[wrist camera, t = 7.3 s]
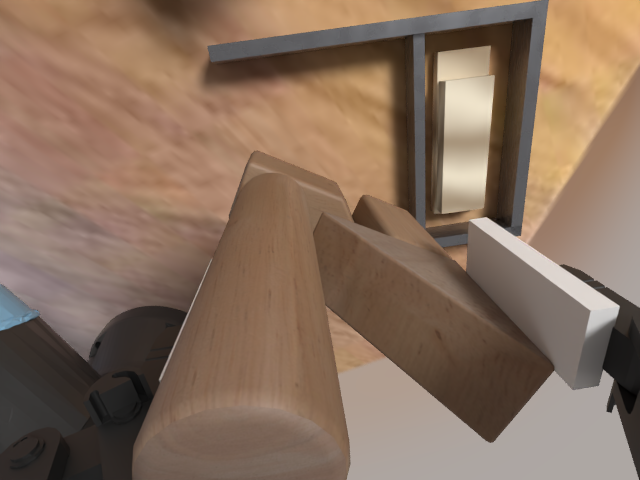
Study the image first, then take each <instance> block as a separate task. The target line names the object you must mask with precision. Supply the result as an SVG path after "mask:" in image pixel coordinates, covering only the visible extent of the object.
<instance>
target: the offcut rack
mask: <svg viewBox="0 0 640 480" xmlns="http://www.w3.org/2000/svg"><path fill="white" fill-rule="evenodd" d="M548 1H549V0H541V1H533V2H526V3H519V4H511V5H504V6H497V7H489V8H482V9H475V10H467V11H460V12H453V13H445V14H438V15H431V16H423V17H416V18H409V19H401V20H394V21H387V22H380V23H372V24H365V25H358V26H350V27H343V28H336V29H328V30H321V31H314V32H306V33H299V34H292V35H284V36H277V37H270V38H262V39H255V40H248V41H240V42H233V43H226V44H218V45H211V46H208V51H209V55H210V59H211V62H213V63H216V64H220V63H227V62H234V61H242V60H249V59H256V58H264V57H271V56H278V55H285V54H293V53H300V52H307V51H314V50H322V49H329V48H336V47H343V46H351V45H358V44H365V43H372V42H380V41H387V40H394V39H401V38H405V69H406V111H407V152H408V193H409V213H410V214H411V215H412V216H413V217H414V219H415V220H416V221H417V222H418V223H419V224H420V225H421V226H422V227H423V228H424V229H425V230H426V231H427V232H428V233H429V234H430V235H431V237H432V238H433V239H434V240H435V241H436V242H437V243H438V244H439V245H440V246H441V247H448V246H454V245H461V244H468V226H469V222H463V223H457V224H450V225H443V226H437V227H430V228H425V35H431V34H438V33H445V32H452V31H460V30H467V29H474V28H481V27H489V26H496V25H503V24H510V23H513V29H512V41H511V52H510V64H509V76H508V88H507V99H506V111H505V123H504V135H503V146H502V158H501V170H500V182H499V194H498V205H497V217H496V218H490V220H491V221H493V222H494V223H496V224H497V225H499V226H500V227H502V228H503V229H505V230H506V231H508V232H509V233H511V234H512V235H514V236H521V229H522V221H523V212H524V204H525V196H526V187H527V179H528V170H529V162H530V153H531V145H532V136H533V128H534V119H535V111H536V102H537V94H538V85H539V77H540V68H541V60H542V52H543V43H544V35H545V26H546V18H547V9H548Z"/></svg>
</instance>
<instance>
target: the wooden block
mask: <svg viewBox="0 0 640 480" xmlns="http://www.w3.org/2000/svg"><path fill="white" fill-rule="evenodd" d="M325 305H326V306H327V307H328V308H329V309H331V310H332V311H333V312H334V313H335V314H337V315H338V316H339V317H340V318H341V319H342V320H344V321H345V322H346V323H347V324H348V325H350V326H351V327H352V328H353V329H354V330H356V331H357V332H358V333H359V334H360V335H361V336H363V337H364V338H365V339H366V340H367V341H369V342H370V343H371V344H372V345H373V346H374V347H376V348H377V349H378V350H379V351H380V352H382V353H383V354H384V355H385V356H386V357H387V358H389V359H390V360H391V361H392V362H393V363H395V364H396V365H397V366H398V367H399V368H401V369H402V370H403V371H404V372H405V373H406V374H408V375H409V376H410V377H411V378H412V379H414V380H415V381H416V382H417V383H418V384H419V385H421V386H422V387H423V388H424V389H426V390H427V391H428V392H429V393H430V394H431V395H433V396H434V397H435V398H436V399H437V400H438V401H440V402H441V403H442V404H443V405H444V406H446V407H447V408H448V409H449V410H450V411H452V412H453V413H454V414H455V415H456V416H457V417H459V418H460V419H461V420H462V421H463V422H464V423H466V424H467V425H468V426H469V427H470V428H472V429H473V430H474V431H475V432H477V433H478V434H479V435H480V436H481V437H482V438H483V439H485V440H486V441H488V442H490V443H491V442H494V441H495V440H496V438H497V437H498V436H499V435H500V433H501V432H502V431H503V430H504V429H505V428H506V427H507V425H508V424H509V423H510V422H511V421H512V420H513V418H514V417H515V416H516V415H517V414H518V412H519V411H520V410H521V409H522V408H523V407H524V405H525V404H526V403H527V402H528V401H529V400H530V398H531V397H532V396H533V395H534V394H535V392H536V391H537V390H538V389H539V388H540V386H541V385H542V384H543V383H544V382H545V381H546V380H547V378H548V377H549V376H550V375H551V374H552V372H553V371H554V365H553V364H552V362H551V361H550V360H549V359H548V358H547V357H546V356H545V355H544V354H543V353H542V352H541V351H540V350H539V348H538V347H537V346H536V345H535V344H534V343H533V342H532V341H531V340H530V339H529V338H528V337H527V336H526V335H525V334H524V333H523V332H522V331H521V330H520V328H519V327H518V326H517V325H516V324H515V323H514V322H513V321H512V320H511V319H510V318H509V317H508V316H507V315H506V314H505V313H504V312H503V311H502V310H501V309H500V307H499V306H498V305H497V304H496V303H495V302H494V301H493V300H492V299H491V298H490V297H489V296H488V295H487V294H486V293H485V292H484V291H483V290H482V289H481V287H480V286H479V285H478V284H477V283H476V282H475V281H474V280H473V279H472V278H471V277H470V276H469V275H468V274H467V273H466V272H465V271H464V269H463V268H462V267H461V266H460V265H459V264H458V263H457V262H456V261H455V260H452V258H451V257H450V256H449V254H448V253H447V252H446V251H445V250H444V249H443V248H442V247H441V246H440V245H439V244H438V243H437V242H436V241H435V240H434V239H433V238H432V237H431V235H430V234H429V233H428V232H427V231H426V230H425V229H424V228H423V227H422V226H421V225H420V224H419V223H418V222H417V221H416V220H415V219H414V217H413V216H412V215H411V214H410V213H409V212H408V211H407V210H404V209H402V208H399V207H397V206H394V205H392V204H389V203H387V202H384V201H382V200H379V199H377V198H374V197H372V196H369V195H363V196H362V197H361V198H360V200H359V202H358V204H357V206H356V208H355V210H354V212H353V214H352V215H351V213H350V210H349V207H348V205H347V202H346V200H345V198H344V196H343V194H342V192H341V190H340V188H339V186H338V185H337V183H336V182H334V181H332V180H329V179H327V178H325V177H322V176H320V175H317V174H315V173H312V172H310V171H307V170H305V169H302V168H300V167H297V166H295V165H292V164H290V163H287V162H285V161H282V160H280V159H277V158H275V157H272V156H270V155H267V154H265V153H262V152H260V151H254V152H253V153H252V154H251V156H250V158H249V160H248V162H247V164H246V167H245V170H244V173H243V176H242V179H241V182H240V185H239V188H238V190H237V193H236V196H235V199H234V202H233V205H232V208H231V211H230V214H229V221H228V223H227V225H226V228H225V230H224V232H223V235H222V237H221V240H220V242H219V244H218V247H217V249H216V251H215V254H214V256H213V259H212V261H211V263H210V266H209V268H208V270H207V273H206V275H205V277H204V280H203V282H202V285H201V287H200V289H199V292H198V294H197V296H196V299H195V301H194V304H193V306H192V308H191V311H190V313H189V315H188V318H187V320H186V322H185V325H184V327H183V330H182V332H181V334H180V337H179V339H178V341H177V344H176V346H175V349H174V351H173V353H172V356H171V358H170V360H169V363H168V365H167V367H166V370H165V372H164V375H163V377H162V379H161V382H160V384H159V386H158V389H157V391H156V394H155V396H154V398H153V401H152V403H151V405H150V408H149V410H148V412H147V415H146V417H145V420H144V422H143V424H142V427H141V429H140V431H139V434H138V436H137V439H136V441H135V443H134V446H133V460H132V480H346V479H347V475H348V471H349V467H350V446H349V437H348V431H347V426H346V420H345V414H344V409H343V403H342V397H341V392H340V386H339V380H338V374H337V368H336V363H335V357H334V351H333V346H332V340H331V334H330V329H329V323H328V317H327V311H326V306H325Z"/></svg>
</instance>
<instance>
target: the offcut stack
mask: <svg viewBox="0 0 640 480" xmlns="http://www.w3.org/2000/svg"><path fill="white" fill-rule="evenodd" d="M490 49H491V46H483V47H475V48H467V49H459V50H451V51H443V52H436V53H434V64H433V121H432V177H431V211H432V212H433V213H434V214H438V213H441V214H446V213H453V212H460V211H468V210H475V209H482V208H484V201H485V188H486V176H487V164H488V152H489V140H490V128H491V116H492V103H493V91H494V79H495V75H489V62H490Z"/></svg>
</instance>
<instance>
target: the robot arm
mask: <svg viewBox="0 0 640 480" xmlns="http://www.w3.org/2000/svg"><path fill="white" fill-rule="evenodd" d="M211 261H212V259H211ZM211 261H210V263H211ZM210 263H209V265H208V267H207V270H208V268H209V266H210ZM207 270H206V272H205V274H204V277H205V275H206V273H207ZM466 273H467V274H468V275H469V276H470V277H471V278H472V279H473V280H474V281H475V282H476V283H477V284H478V285H479V286H480V287H481V289H482V290H483V291H484V292H485V293H486V294H487V295H488V296H489V297H490V298H491V299H492V300H493V301H494V302H495V303H496V304H497V305H498V306H499V307H500V309H501V310H502V311H503V312H504V313H505V314H506V315H507V316H508V317H509V318H510V319H511V320H512V321H513V322H514V323H515V324H516V325H517V326H518V327H519V328H520V330H521V331H522V332H523V333H524V334H525V335H526V336H527V337H528V338H529V339H530V340H531V341H532V342H533V343H534V344H535V345H536V346H537V347H538V348H539V350H540V351H541V352H542V353H543V354H544V355H545V356H546V357H547V358H548V359H549V360H550V361H551V362H552V364H553V365H554V370H555V371H556V372H557V374H558V375H559V376H560V377H561V378H562V379H563V380H564V381H565V382H566V383H567V384H568V385H569V386H570V388H571V389H572V390H576V389H582V388H588V387H594V386H599V383H600V379H601V375H602V371H603V369H604V370H605V371H606V372H607V373H608V374H609V375H610V376H612V377H613V378H614V382H613V386H612V389H611V393H610V396H609V400H608V403H607V412H612V410H613V406H614V405H617V409H618V412H619V415H620V419H621V422H622V425H623V428H624V432H625V435H626V438H627V441H628V444H629V448H630V451H631V454H632V458H633V461H634V464H635V467H636V471H637V474H638V477H639V480H640V308H639V307H637V306H636V305H634V304H633V303H631V302H629V301H628V300H626V299H625V298H623V297H622V296H620V295H618V294H617V293H615V292H614V291H612V290H610V289H609V288H607V287H606V288H605V287H604V285H603V284H601V283H600V282H598V281H594V279H593V278H592V277H590V276H588V275H587V274H585V273H584V272H582V271H580V270H578V269H575V268H572V267H569V266H567V265H557V264H556V263H554V262H553V261H551V260H550V259H548V258H547V257H545V256H544V255H542V254H541V253H539V252H538V251H536V250H535V249H533V248H532V247H530V246H529V245H527V244H526V243H524V242H523V241H521V240H520V239H518V238H517V237H515V236H514V235H512V234H511V233H509V232H508V231H506V230H505V229H503V228H502V227H500V226H499V225H497V224H496V223H494V222H493V221H491V220H490V219H488V218H487V217H484V218H478V219H471V220H469V226H468V247H467V267H466ZM204 277H203V279H202V281H201V284H200V286H199V288H198V291H197V293H196V295H195V297H194V300H193V302H192V304H191V307H190V309H189V311H188V313H185V312H183V311H180V310H177V309H173V308H168V307H160V306H146V307H139V308H135V309H131V310H128V311H126V312H123V313H121V314H119V315H118V316H116V317H115V318H113V319H112V320H111V321H110V322H109V323H108V324H107V325H106V326H105V328H104V329H103V330H102V332H101V333H100V334H99V336H98V337H97V338H96V340H95V342H94V344H93V346H92V348H91V352H90V356H89V360H88V363H87V362H86V361H85V360H84V359H83V358H82V357H81V356H80V355H79V354H78V353H77V352H76V351H75V350H74V349H73V348H72V347H71V346H69V345H68V344H67V343H66V342H65V341H64V340H63V339H62V338H61V337H60V336H59V335H58V334H57V333H56V332H55V331H54V330H53V329H52V328H51V327H50V326H49V325H48V324H47V323H46V322H44V321H43V320H42V319H41V318H40V317H39V315H40V313H39V311H37V310H32V309H31V308H29V307H28V306H27V305H26V304H25V303H24V302H22V301H21V300H20V299H19V298H18V297H17V296H15V295H14V294H13V293H12V292H11V291H10V290H8V289H7V288H6V287H5V286H4V285H2V284H0V480H132V460H133V446H134V443H135V441H136V439H137V436H138V434H139V431H140V429H141V427H142V424H143V422H144V420H145V417H146V415H147V412H148V410H149V408H150V405H151V403H152V401H153V398H154V396H155V394H156V391H157V389H158V386H159V384H160V382H161V379H162V377H163V375H164V372H165V370H166V367H167V365H168V363H169V360H170V358H171V356H172V353H173V351H174V349H175V346H176V344H177V341H178V339H179V337H180V334H181V332H182V330H183V327H184V325H185V322H186V320H187V318H188V315H189V313H190V311H191V308H192V306H193V304H194V301H195V299H196V296H197V294H198V292H199V289H200V287H201V285H202V282H203V280H204Z"/></svg>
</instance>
